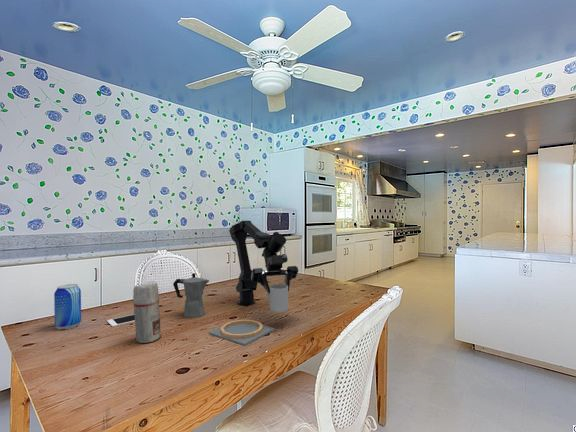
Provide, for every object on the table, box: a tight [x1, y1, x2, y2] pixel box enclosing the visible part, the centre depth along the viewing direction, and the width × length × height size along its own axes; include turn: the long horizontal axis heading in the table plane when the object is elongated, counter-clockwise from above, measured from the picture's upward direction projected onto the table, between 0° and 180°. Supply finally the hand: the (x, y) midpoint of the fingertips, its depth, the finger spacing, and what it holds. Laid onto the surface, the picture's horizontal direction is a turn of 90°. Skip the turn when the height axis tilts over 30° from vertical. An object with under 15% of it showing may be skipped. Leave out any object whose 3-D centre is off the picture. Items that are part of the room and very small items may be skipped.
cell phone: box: [106, 313, 135, 328], centre depth 126 cm, size 9×18×1 cm, turn 133°
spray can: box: [132, 280, 162, 344], centre depth 105 cm, size 8×8×20 cm
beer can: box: [53, 283, 82, 330], centre depth 118 cm, size 8×8×16 cm
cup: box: [266, 283, 289, 313], centre depth 117 cm, size 7×10×9 cm
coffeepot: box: [172, 272, 210, 319], centre depth 130 cm, size 15×9×18 cm, turn 92°
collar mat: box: [208, 318, 276, 347], centre depth 110 cm, size 18×16×2 cm
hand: (278, 292), depth 116 cm, fingers closed on cup, 7 cm apart
